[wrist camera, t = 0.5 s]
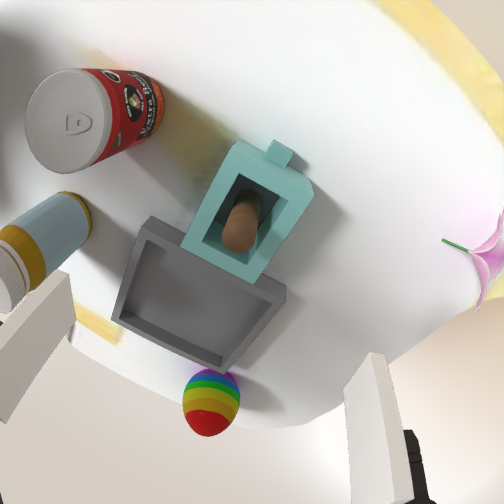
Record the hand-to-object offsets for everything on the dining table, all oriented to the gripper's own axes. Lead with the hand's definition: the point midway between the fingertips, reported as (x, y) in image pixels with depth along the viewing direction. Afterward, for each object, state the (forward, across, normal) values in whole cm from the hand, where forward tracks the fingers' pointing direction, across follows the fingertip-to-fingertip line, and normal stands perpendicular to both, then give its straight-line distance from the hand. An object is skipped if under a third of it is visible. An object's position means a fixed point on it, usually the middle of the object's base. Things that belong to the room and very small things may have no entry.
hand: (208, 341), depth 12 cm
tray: (+20, -4, -14) cm, 25 cm away
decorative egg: (+20, +1, -30) cm, 36 cm away
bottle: (+19, -21, -8) cm, 30 cm away
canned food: (+20, -14, +6) cm, 25 cm away
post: (+20, 0, -1) cm, 20 cm away
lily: (+20, +25, +2) cm, 33 cm away
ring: (+20, 0, -1) cm, 20 cm away
